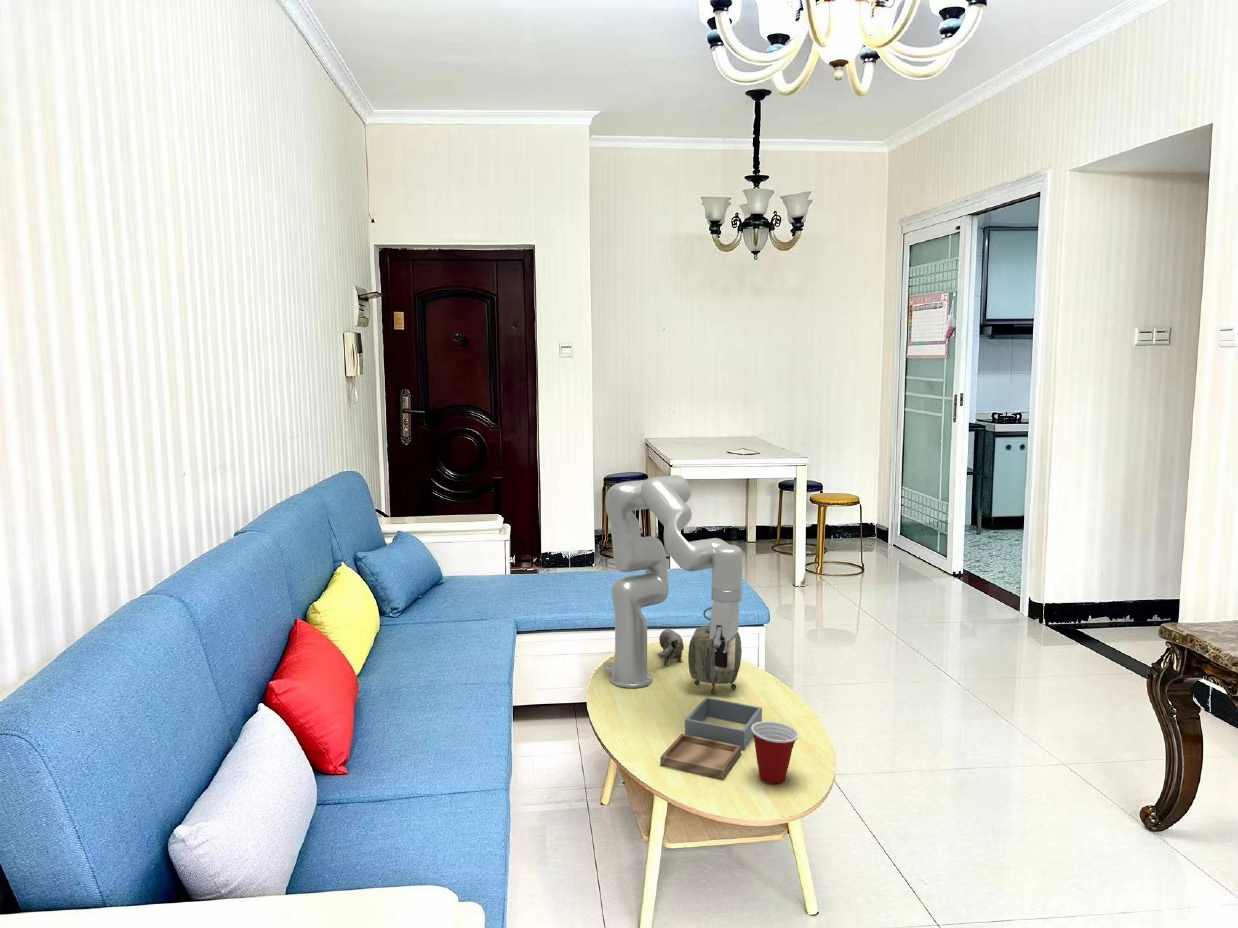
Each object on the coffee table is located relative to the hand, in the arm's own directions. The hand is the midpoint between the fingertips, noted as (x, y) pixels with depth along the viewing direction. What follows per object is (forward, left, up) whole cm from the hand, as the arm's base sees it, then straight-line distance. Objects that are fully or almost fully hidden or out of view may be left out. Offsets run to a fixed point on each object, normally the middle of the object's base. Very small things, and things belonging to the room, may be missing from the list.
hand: (724, 662), depth 218 cm
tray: (0, -17, -19) cm, 25 cm away
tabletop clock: (-11, +24, -19) cm, 32 cm away
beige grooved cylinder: (0, 0, -2) cm, 2 cm away
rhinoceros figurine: (-31, +40, -19) cm, 54 cm away
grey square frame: (0, 0, -19) cm, 19 cm away
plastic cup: (+18, -18, -19) cm, 32 cm away
